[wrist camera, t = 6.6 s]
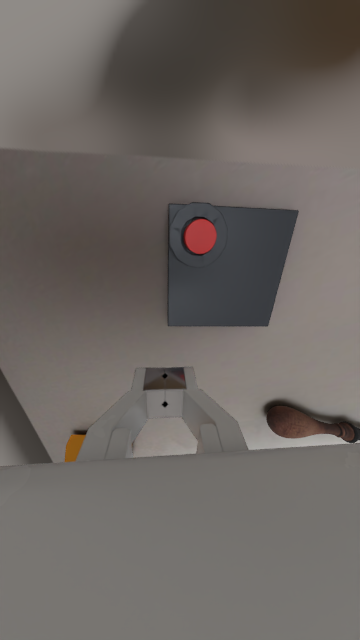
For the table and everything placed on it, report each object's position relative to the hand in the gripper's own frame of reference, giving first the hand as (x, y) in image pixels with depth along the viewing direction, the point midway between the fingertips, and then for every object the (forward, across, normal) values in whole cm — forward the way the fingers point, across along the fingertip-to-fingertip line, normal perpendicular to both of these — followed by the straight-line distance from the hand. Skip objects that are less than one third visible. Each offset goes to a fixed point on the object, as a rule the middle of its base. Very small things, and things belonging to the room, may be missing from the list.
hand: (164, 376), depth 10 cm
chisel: (+15, -39, +27) cm, 50 cm away
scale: (+15, -8, -3) cm, 17 cm away
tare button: (+13, -3, -7) cm, 15 cm away
